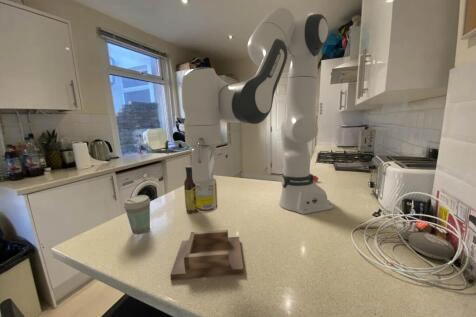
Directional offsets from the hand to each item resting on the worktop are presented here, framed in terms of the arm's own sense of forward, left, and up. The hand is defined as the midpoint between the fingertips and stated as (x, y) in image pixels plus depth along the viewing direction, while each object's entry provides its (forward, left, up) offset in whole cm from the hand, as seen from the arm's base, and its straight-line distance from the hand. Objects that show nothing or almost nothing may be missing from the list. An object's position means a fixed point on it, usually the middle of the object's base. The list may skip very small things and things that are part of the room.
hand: (206, 189), depth 53 cm
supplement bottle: (0, 0, -6) cm, 6 cm away
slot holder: (0, 0, -21) cm, 21 cm away
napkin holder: (-52, -63, -21) cm, 84 cm away
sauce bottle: (+9, -31, -21) cm, 39 cm away
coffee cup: (+26, -18, -21) cm, 38 cm away
